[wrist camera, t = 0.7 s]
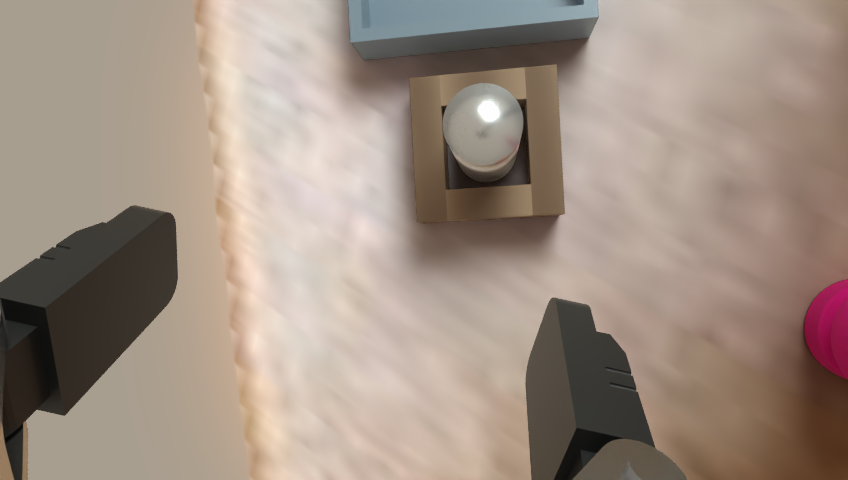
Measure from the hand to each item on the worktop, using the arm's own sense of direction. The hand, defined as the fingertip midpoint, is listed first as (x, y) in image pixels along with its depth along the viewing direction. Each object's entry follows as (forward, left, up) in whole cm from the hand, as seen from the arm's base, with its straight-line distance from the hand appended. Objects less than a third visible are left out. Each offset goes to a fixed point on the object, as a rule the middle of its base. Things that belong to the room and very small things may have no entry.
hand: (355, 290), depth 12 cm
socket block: (-3, -7, -26) cm, 27 cm away
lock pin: (-3, -7, -26) cm, 27 cm away
